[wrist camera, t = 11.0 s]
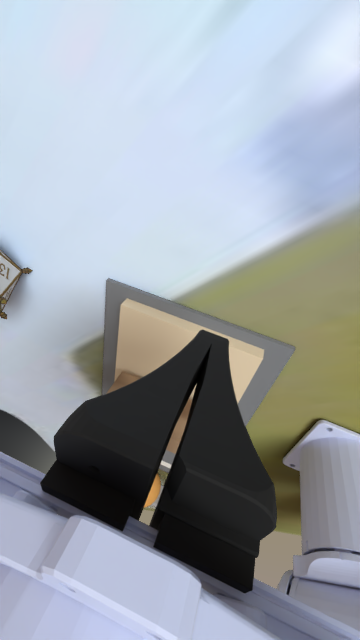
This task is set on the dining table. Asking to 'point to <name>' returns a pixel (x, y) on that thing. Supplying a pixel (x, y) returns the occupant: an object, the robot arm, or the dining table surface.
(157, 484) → the ball
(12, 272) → the game die
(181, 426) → the pusher bar
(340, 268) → the dining table surface
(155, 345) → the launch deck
